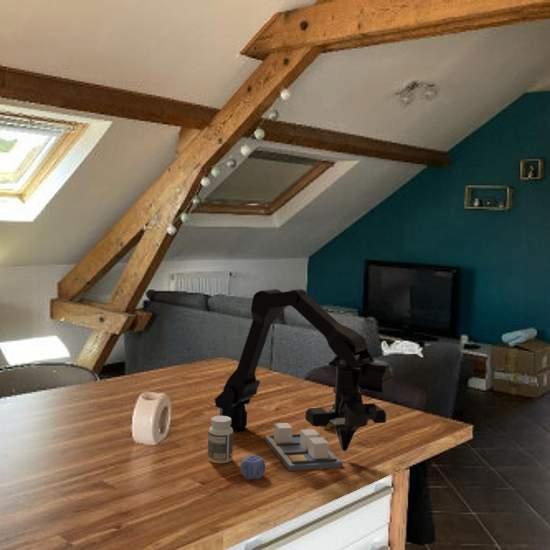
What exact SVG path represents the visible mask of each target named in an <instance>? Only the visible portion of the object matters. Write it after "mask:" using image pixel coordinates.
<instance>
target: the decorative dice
mask: <svg viewBox="0 0 550 550" xmlns="http://www.w3.org/2000/svg"><path fill="white" fill-rule="evenodd" d="M265 471H266V461H265V460H264V459H263V457H261V456H259V455H248V456H245V457H244V458H243V460H242V461H241V463H240V472H241V475H242V476H243V477H244V478H245V479H247V480H259V479H261V478H262V477H264V473H265Z"/></svg>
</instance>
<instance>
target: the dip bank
mask: <svg viewBox="0 0 550 550" xmlns="http://www.w3.org/2000/svg"><path fill="white" fill-rule="evenodd" d="M300 434H301V433H292V442H287V443H278V442H277V441H276V440H275V438H274V434H273V435H264V436H263V438H264V439H263V441H265V443H266V444H267V445H268V446H269V447H270V448H269V449H271V450H272V451H273V453H274V454H275V455H276V456H277V458H278V459H279V460H280V461H281V463H283V465H284V467H286V468H287V470H288V472H289V471H303V470H304V471H305V470H316V469H318V470H319V469H330V468H342V467H343V466H344V463H343V461H342V460H341V459H340V458H339V457H338V456H337V455H335V453H333V451H331V450H330V449H329V448H328V458H324V459H313V458H312V457H311V456H310V455H309V454H308V450H305V449H304V448H303V447H302V446H301V445H300Z"/></svg>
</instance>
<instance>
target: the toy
mask: <svg viewBox="0 0 550 550" xmlns="http://www.w3.org/2000/svg"><path fill="white" fill-rule="evenodd" d="M325 411H326V412H334V409H333V407H331V409H330V410H329V409H326V410H325ZM323 427H324V430H327V429H329V430H331V428H332V427H333V426H332V425H331V424H330V423H328V425H327V426H321V428H323Z"/></svg>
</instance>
